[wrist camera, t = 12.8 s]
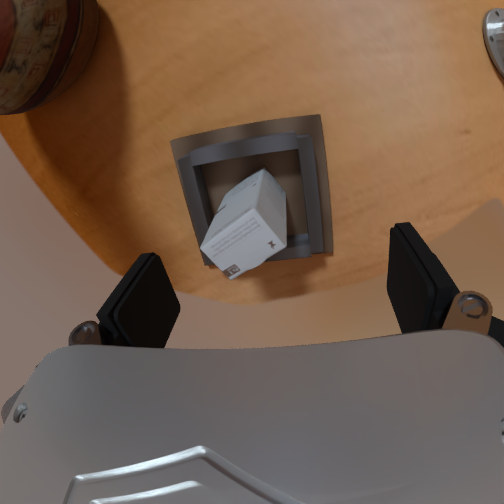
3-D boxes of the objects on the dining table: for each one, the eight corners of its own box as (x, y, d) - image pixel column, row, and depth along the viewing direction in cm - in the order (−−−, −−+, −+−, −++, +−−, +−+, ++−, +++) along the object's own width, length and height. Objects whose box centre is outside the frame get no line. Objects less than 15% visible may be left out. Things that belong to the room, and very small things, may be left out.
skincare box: (263, 164, 31) (254, 202, 21) (288, 194, 33) (290, 246, 22) (222, 195, 33) (194, 246, 23) (246, 223, 35) (231, 283, 24)
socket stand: (318, 114, 28) (324, 116, 25) (331, 248, 37) (336, 264, 33) (173, 139, 31) (160, 145, 28) (206, 261, 39) (199, 278, 36)
